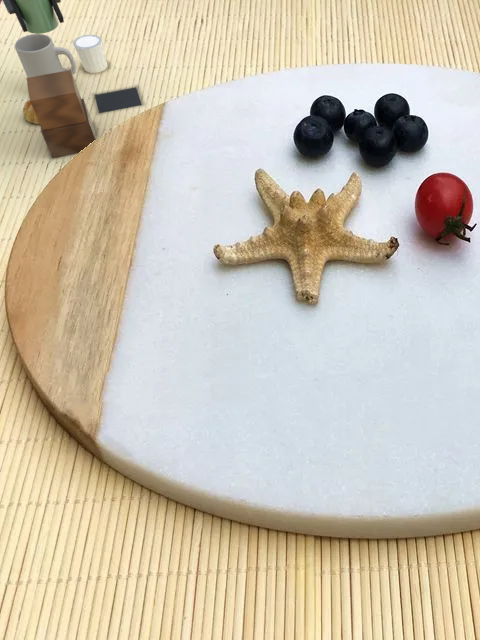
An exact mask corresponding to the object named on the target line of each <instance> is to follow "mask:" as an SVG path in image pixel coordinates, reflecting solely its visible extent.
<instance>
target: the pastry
mask: <svg viewBox="0 0 480 640" xmlns="http://www.w3.org/2000/svg"><path fill="white" fill-rule="evenodd" d="M22 117H23V119H24V120H25V121H26V122H28V123H30V124H34V125H40V123H39V120H38V118H37V116H36V114H35V111H34V109H33V107H32V105H31V102H30V99H28V100H27V101H25V103H24V105H23V107H22Z"/></svg>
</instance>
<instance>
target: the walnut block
mask: <svg viewBox="0 0 480 640" xmlns="http://www.w3.org/2000/svg"><path fill="white" fill-rule="evenodd" d="M25 80H26V84H27V92H28V98H29V100H30V102H31V105H32V107H33V109H34V111H35V114H36V116H37V118H38V120H39V123H40V124H39V127H40V132H41V135H42V137H43V140H44V142H45V144H46V146H47V149H48V150H49V154H50V155H51V158H52V159H58V158H62V157H66V156H71V155H75V154H80V153H79V152H80V151H81V150H83V149H84V148H85V147H87V146H88V145H89V144H90V143H92V142H93V141H94V140H96V139H97V134H96V131H95V127H94V123H93V120H92V118H91V115H90V112H89V110H88V107H87V103H86V101H85V99H84V98H82V96H81V94H80V90H79V88H78V86H77V83H76V80H75V77H74V74H73V75H72V72H71V70H68V71H62V72H57V73H51V74H45V75H40V76H34V77H29V78H28V77H26V79H25Z"/></svg>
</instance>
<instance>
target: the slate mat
mask: <svg viewBox="0 0 480 640" xmlns="http://www.w3.org/2000/svg"><path fill="white" fill-rule="evenodd" d="M94 97H95V102H96V106H97V109H98V114H102V113H107V112H113V111H118V110H123V109H129V108H134V107H139V106H142V105H143V104H142V101H141V98H140V94H139V91H138V88H137V87H130V88H125V89H119V90H115V91H109V92H103V93H99V94H94Z"/></svg>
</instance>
